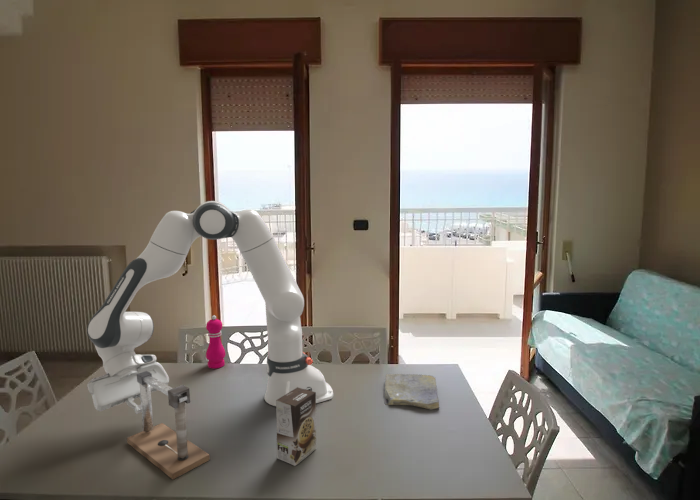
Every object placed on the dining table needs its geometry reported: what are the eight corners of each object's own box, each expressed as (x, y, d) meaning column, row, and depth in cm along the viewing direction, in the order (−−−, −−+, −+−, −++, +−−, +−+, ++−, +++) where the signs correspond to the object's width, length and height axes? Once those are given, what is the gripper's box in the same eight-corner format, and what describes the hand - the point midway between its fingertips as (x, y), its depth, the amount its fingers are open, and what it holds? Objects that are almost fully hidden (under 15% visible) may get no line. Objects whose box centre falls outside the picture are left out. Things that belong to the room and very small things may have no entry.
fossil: (384, 412, 141) (440, 412, 139) (383, 398, 141) (439, 398, 139) (386, 386, 161) (435, 385, 159) (385, 373, 161) (434, 372, 159)
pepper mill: (220, 369, 171) (217, 318, 168) (202, 368, 172) (200, 317, 169) (229, 362, 178) (227, 313, 175) (212, 361, 179) (209, 312, 176)
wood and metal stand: (127, 442, 123) (121, 374, 120) (162, 427, 131) (157, 362, 128) (172, 479, 108) (167, 401, 105) (209, 460, 116) (205, 386, 113)
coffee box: (296, 467, 113) (294, 406, 110) (276, 458, 116) (274, 399, 114) (317, 448, 120) (316, 391, 118) (298, 441, 124) (297, 385, 121)
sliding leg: (141, 431, 125) (136, 374, 123) (150, 427, 127) (146, 370, 125) (181, 461, 112) (177, 398, 109) (192, 456, 114) (188, 393, 111)
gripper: (87, 375, 122) (105, 421, 117) (160, 353, 137) (179, 393, 133) (82, 386, 125) (100, 431, 121) (154, 363, 141) (172, 402, 136)
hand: (142, 411), depth 127 cm, fingers closed
